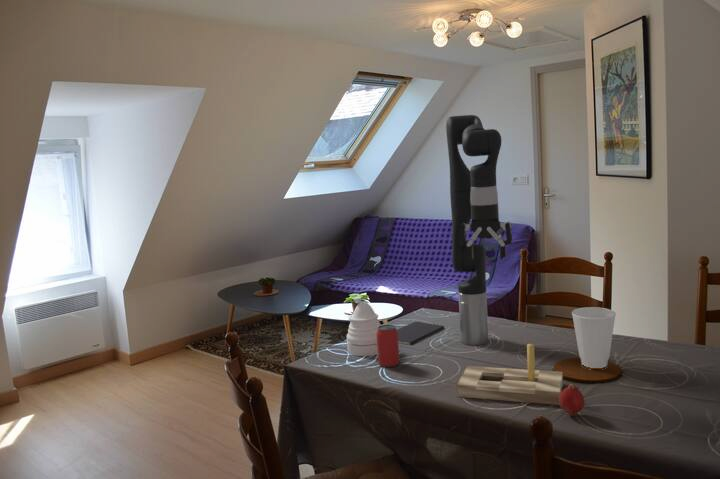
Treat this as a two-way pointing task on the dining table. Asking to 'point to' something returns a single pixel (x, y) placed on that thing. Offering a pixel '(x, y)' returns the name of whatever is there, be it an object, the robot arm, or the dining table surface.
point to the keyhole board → (510, 385)
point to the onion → (571, 400)
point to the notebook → (416, 332)
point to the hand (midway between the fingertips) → (486, 258)
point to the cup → (594, 335)
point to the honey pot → (363, 330)
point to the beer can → (387, 346)
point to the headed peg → (531, 362)
